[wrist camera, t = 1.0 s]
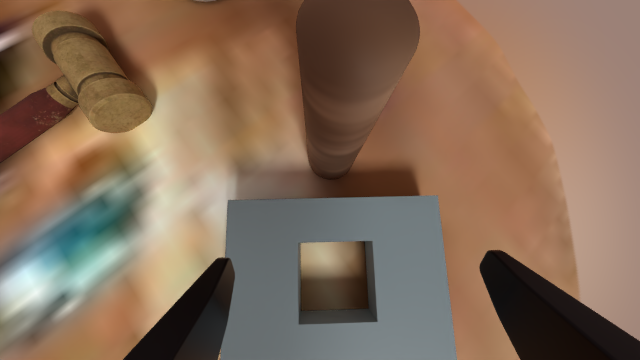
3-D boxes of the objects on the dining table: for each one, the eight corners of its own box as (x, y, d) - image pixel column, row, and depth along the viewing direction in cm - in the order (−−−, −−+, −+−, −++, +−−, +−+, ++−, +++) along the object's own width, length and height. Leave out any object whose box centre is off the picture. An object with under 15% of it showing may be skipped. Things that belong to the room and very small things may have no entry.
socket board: (437, 350, 20) (458, 371, 17) (234, 358, 19) (219, 380, 17) (421, 199, 22) (437, 195, 19) (239, 204, 22) (227, 200, 19)
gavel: (-124, 260, 18) (-172, 153, 19) (-31, 251, 22) (-76, 165, 24) (124, 85, 19) (62, -2, 21) (163, 111, 24) (110, 38, 25)
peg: (361, 158, 23) (445, 28, 8) (330, 188, 22) (360, 107, 8) (330, 128, 23) (356, -45, 9) (299, 157, 23) (270, 24, 8)
